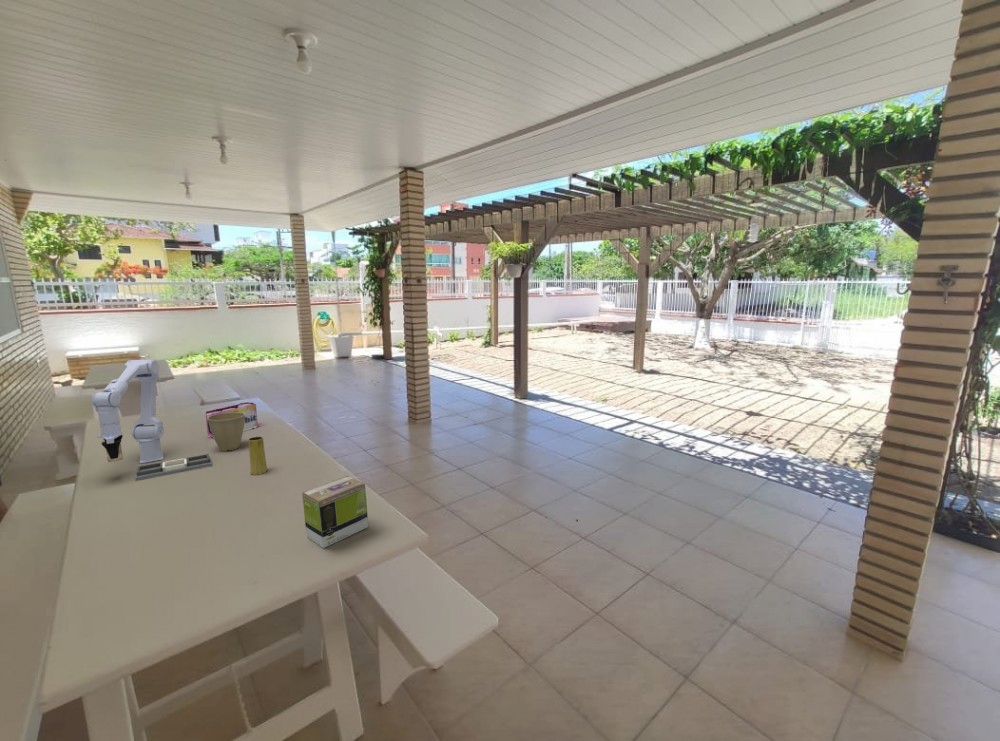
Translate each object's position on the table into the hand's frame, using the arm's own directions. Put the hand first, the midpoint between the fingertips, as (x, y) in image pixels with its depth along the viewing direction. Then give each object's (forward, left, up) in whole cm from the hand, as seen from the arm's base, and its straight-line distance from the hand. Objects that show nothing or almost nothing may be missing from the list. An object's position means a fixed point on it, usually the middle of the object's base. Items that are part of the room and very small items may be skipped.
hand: (115, 456), depth 169 cm
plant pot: (-14, +39, -9) cm, 42 cm away
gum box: (-43, +44, -10) cm, 62 cm away
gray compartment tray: (+1, +18, -9) cm, 20 cm away
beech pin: (0, 0, -2) cm, 2 cm away
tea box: (+93, +56, -10) cm, 109 cm away
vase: (+26, +45, -9) cm, 53 cm away
